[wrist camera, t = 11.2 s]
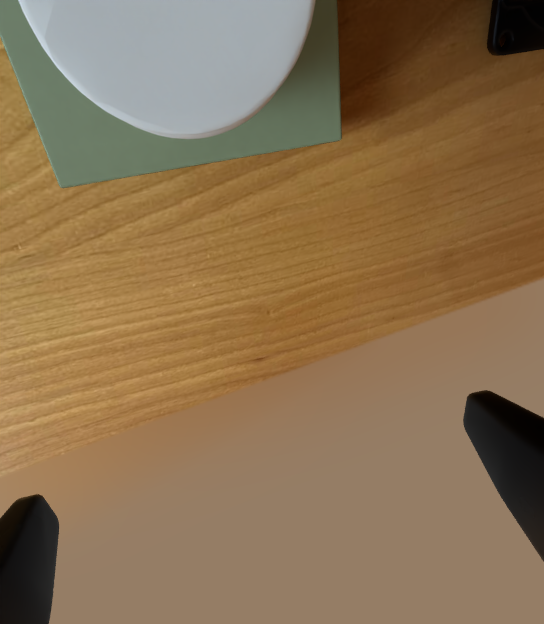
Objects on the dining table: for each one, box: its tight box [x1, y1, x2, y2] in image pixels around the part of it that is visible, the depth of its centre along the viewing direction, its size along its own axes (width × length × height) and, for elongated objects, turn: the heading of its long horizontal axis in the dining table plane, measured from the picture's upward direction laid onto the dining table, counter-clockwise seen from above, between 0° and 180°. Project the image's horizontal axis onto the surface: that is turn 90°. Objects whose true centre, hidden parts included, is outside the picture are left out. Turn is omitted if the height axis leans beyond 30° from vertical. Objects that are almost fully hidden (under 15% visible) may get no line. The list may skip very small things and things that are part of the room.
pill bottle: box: [18, 0, 316, 139], centre depth 9 cm, size 5×5×8 cm
